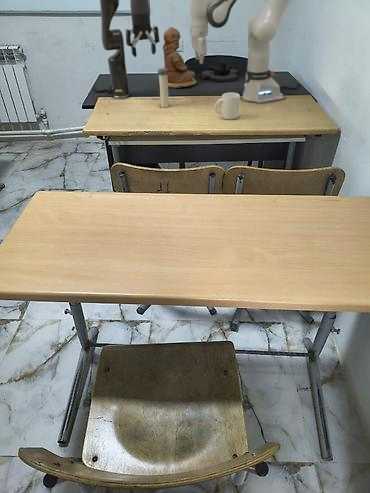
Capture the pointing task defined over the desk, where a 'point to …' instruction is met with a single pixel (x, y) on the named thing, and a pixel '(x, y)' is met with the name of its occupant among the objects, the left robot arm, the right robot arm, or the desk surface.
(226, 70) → the abstract sculpture
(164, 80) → the beige tapered cylinder
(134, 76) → the desk surface
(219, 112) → the mug
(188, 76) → the sculpture
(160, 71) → the lid
